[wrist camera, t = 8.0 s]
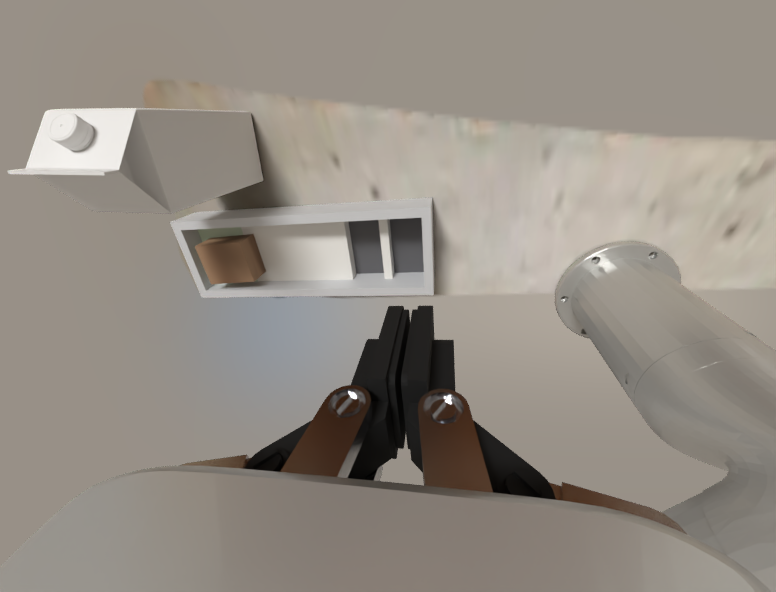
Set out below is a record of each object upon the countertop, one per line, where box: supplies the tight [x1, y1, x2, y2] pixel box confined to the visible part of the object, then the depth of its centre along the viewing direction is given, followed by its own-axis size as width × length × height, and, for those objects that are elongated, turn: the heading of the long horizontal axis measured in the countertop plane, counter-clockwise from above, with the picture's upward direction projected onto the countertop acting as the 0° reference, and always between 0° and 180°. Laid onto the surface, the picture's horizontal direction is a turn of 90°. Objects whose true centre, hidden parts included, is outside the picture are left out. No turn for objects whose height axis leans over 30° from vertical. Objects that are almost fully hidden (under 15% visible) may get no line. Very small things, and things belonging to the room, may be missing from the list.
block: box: [195, 234, 266, 284], centre depth 39 cm, size 6×5×3 cm
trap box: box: [170, 197, 435, 298], centre depth 39 cm, size 30×10×4 cm, turn 95°
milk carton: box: [8, 108, 263, 214], centre depth 28 cm, size 7×7×19 cm
